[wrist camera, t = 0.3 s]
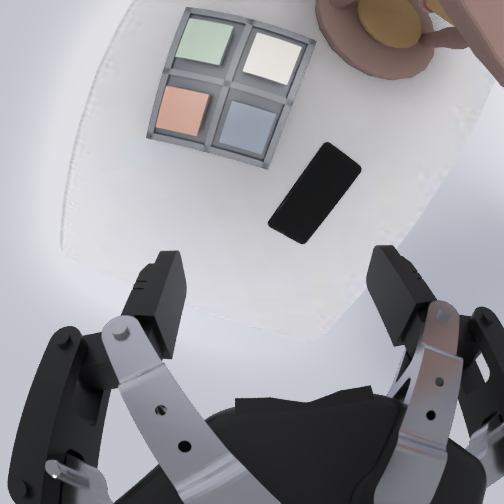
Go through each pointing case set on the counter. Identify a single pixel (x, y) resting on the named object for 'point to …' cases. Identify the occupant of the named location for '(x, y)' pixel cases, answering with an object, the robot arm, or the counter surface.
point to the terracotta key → (182, 110)
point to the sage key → (205, 42)
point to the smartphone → (315, 194)
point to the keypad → (230, 86)
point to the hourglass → (411, 33)
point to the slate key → (247, 127)
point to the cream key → (271, 59)
